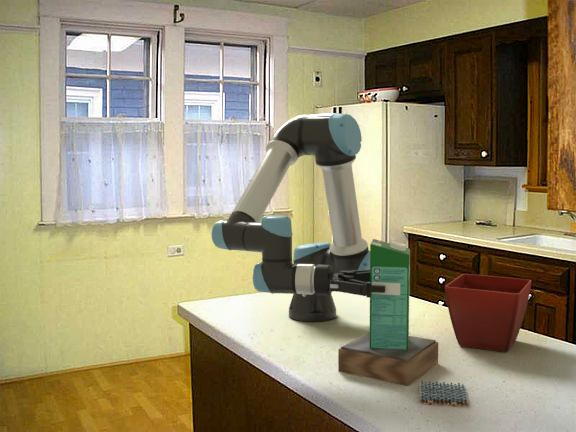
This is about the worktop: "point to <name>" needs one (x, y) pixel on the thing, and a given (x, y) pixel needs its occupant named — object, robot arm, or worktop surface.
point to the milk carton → (389, 308)
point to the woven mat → (443, 394)
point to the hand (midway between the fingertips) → (402, 283)
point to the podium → (388, 360)
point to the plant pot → (487, 310)
